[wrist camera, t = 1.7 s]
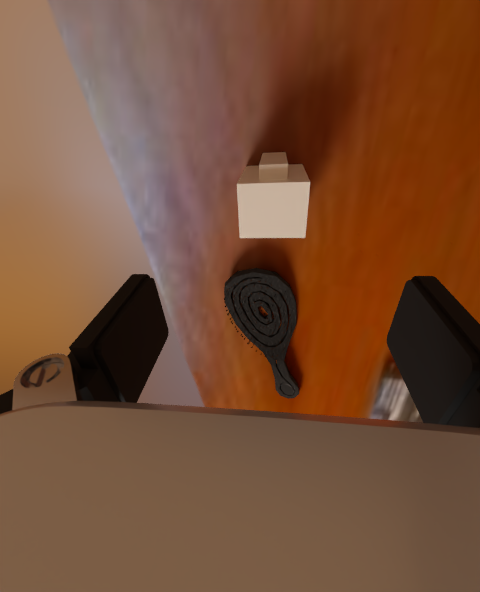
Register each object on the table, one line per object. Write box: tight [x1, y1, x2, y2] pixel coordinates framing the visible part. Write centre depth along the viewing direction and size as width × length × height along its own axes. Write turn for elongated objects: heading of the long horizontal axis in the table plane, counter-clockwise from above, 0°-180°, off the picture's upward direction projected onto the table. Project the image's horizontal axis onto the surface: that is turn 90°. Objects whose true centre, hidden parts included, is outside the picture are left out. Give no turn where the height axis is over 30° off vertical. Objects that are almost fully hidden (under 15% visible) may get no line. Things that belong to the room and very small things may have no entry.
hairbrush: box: [224, 268, 299, 398], centre depth 35 cm, size 8×4×25 cm
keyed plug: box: [237, 152, 310, 238], centre depth 22 cm, size 5×5×7 cm
